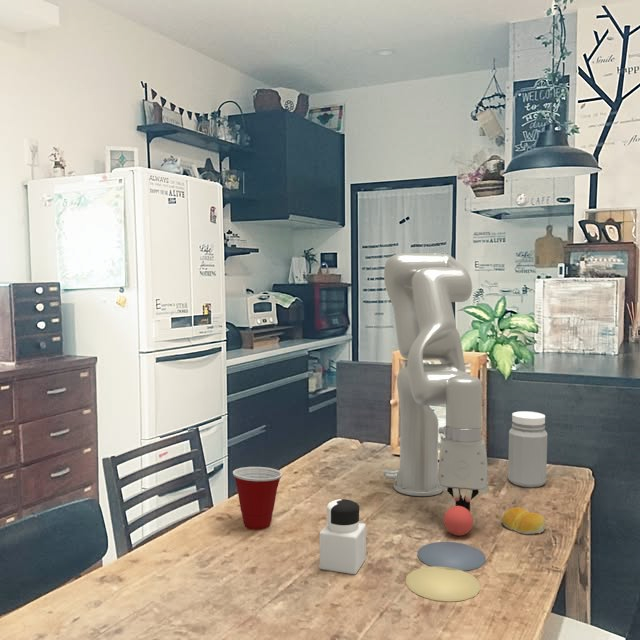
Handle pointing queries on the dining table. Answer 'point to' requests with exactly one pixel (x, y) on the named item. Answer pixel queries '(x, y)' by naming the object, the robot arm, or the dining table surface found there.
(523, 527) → the bread roll
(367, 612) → the dining table surface
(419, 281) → the robot arm
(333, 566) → the medicine bottle
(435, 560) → the smooth gray rounded object
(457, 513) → the ball
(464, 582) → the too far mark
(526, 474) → the jar
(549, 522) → the dining table surface
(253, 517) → the plastic cup
